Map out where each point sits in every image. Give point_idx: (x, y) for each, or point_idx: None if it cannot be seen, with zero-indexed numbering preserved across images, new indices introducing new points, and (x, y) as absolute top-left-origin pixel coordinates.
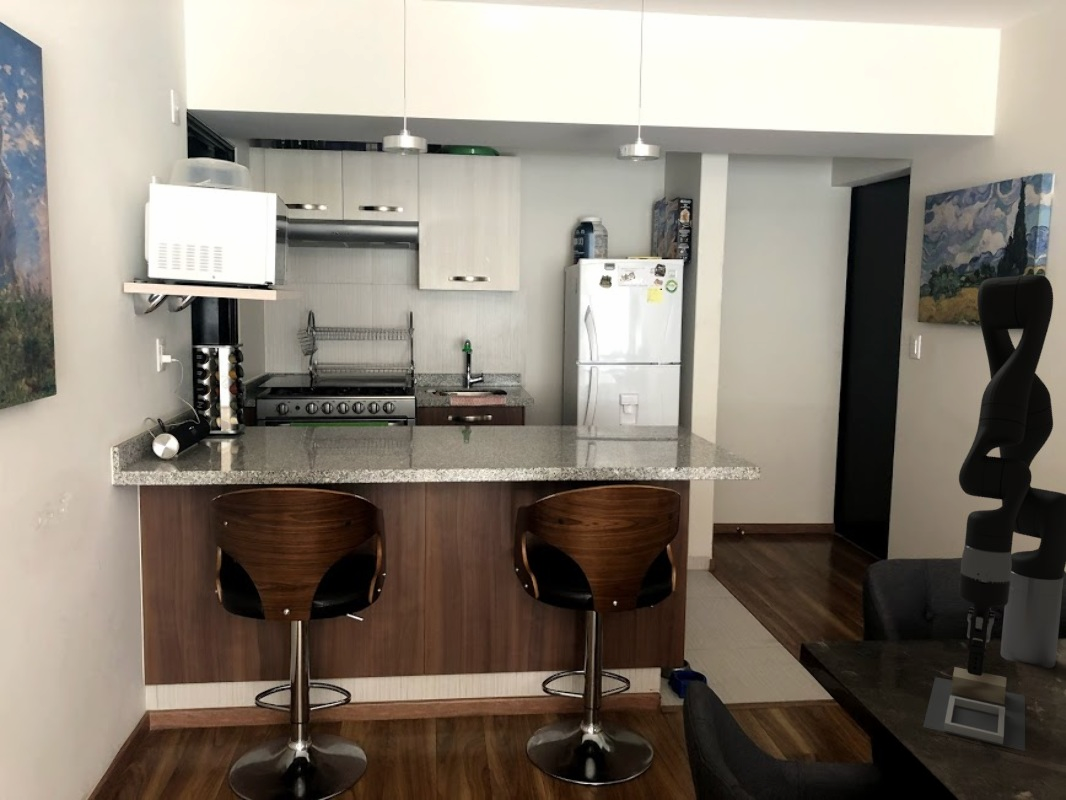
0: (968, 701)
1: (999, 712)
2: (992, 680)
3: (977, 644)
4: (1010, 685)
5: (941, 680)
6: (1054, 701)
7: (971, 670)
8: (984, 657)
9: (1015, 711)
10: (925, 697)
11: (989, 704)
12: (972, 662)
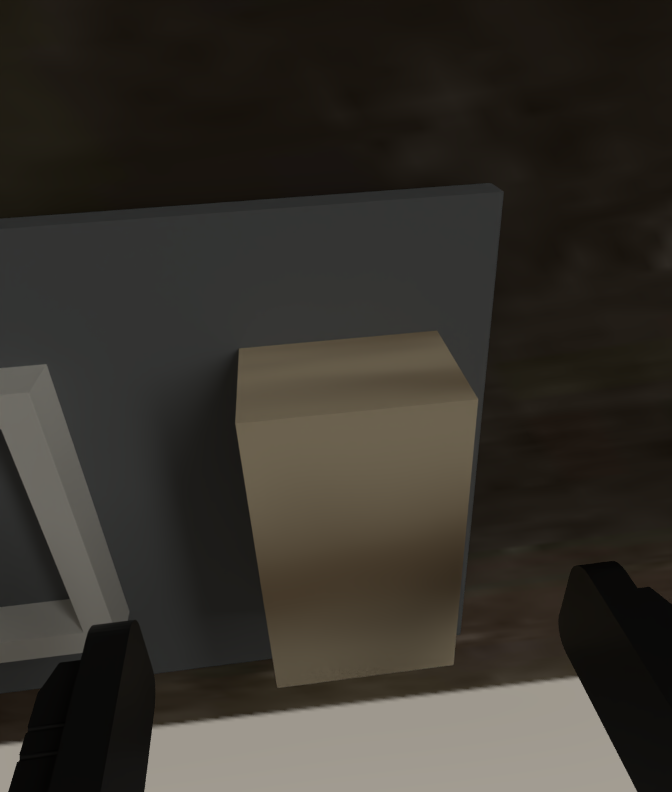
0: (34, 500)
1: (10, 643)
2: (342, 627)
3: (637, 712)
4: (639, 541)
5: (449, 248)
6: (520, 677)
7: (56, 682)
8: (565, 647)
9: (213, 637)
10: (120, 163)
11: (89, 593)
12: (18, 779)
